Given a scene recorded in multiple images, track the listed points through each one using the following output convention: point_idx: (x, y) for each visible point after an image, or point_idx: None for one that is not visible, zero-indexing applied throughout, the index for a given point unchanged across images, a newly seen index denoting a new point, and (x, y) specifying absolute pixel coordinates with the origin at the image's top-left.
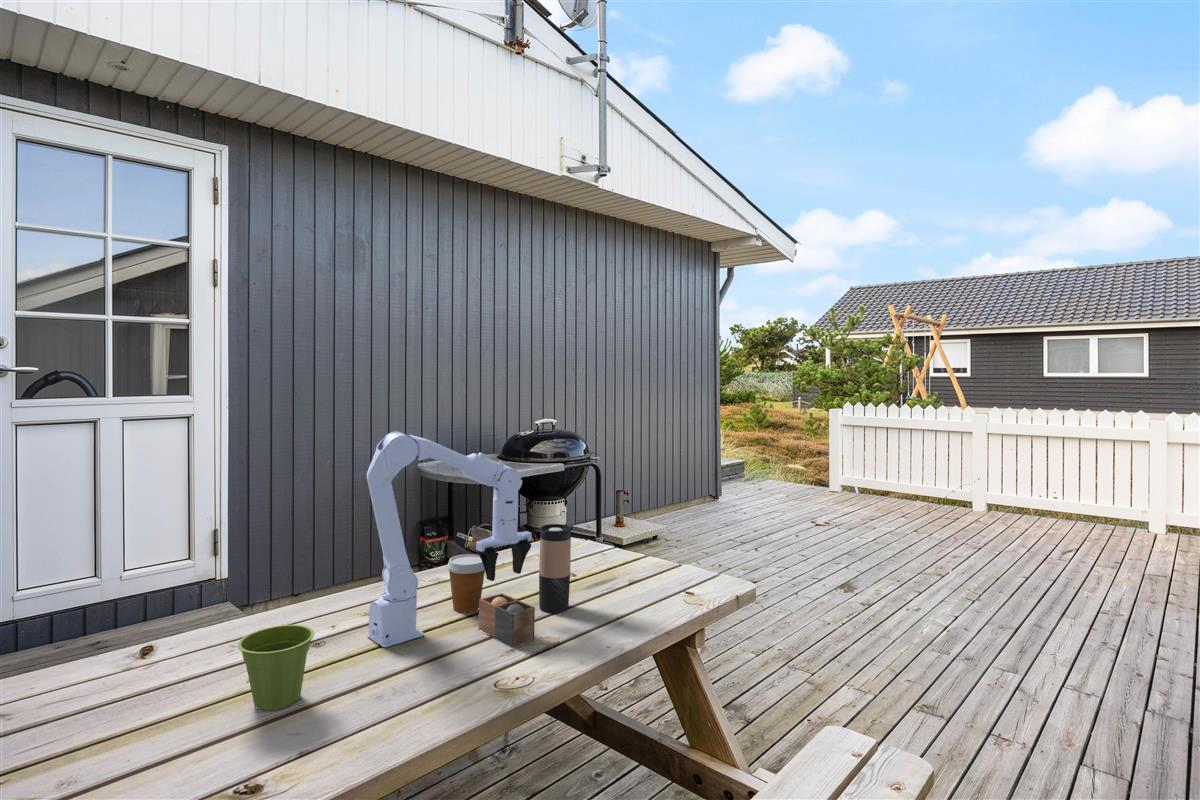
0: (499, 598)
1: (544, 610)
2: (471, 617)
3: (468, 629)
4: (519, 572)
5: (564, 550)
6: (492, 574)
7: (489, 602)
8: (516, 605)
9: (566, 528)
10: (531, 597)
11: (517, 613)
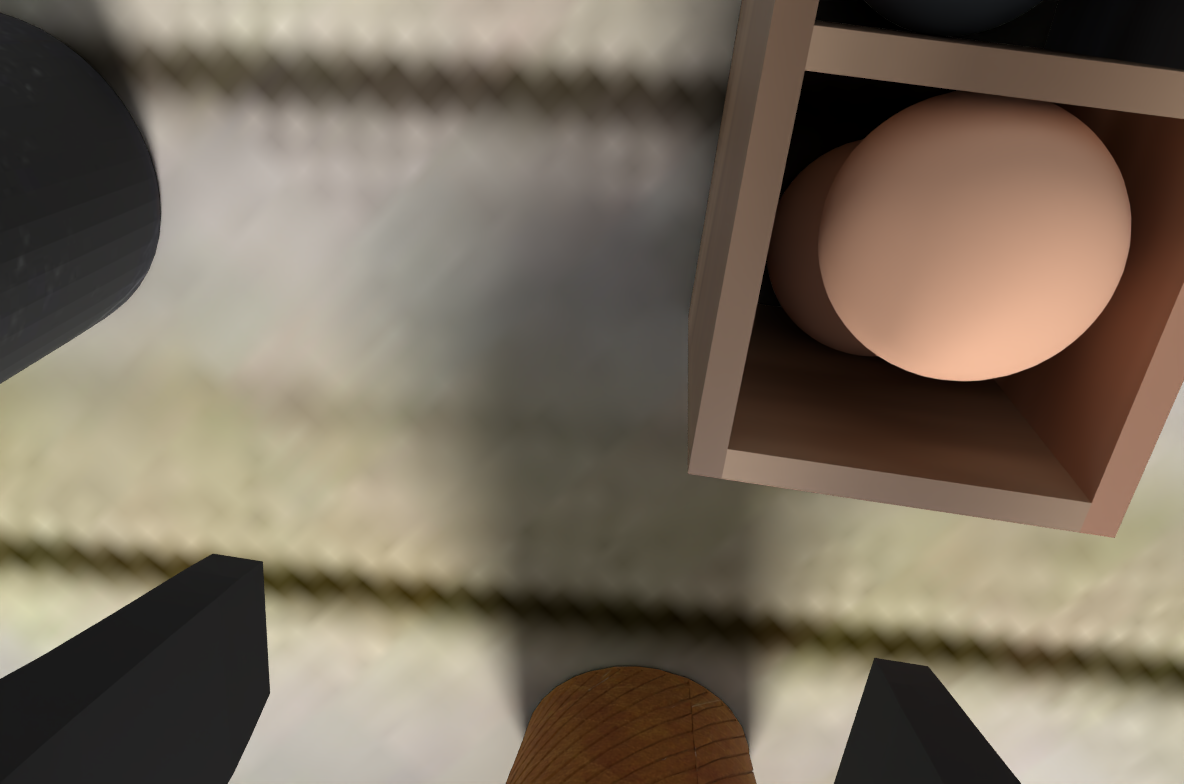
0: (1047, 254)
1: (148, 180)
2: (762, 602)
3: None
4: (231, 570)
5: None
6: (998, 762)
7: (932, 444)
8: None
9: None
10: (48, 522)
11: None
